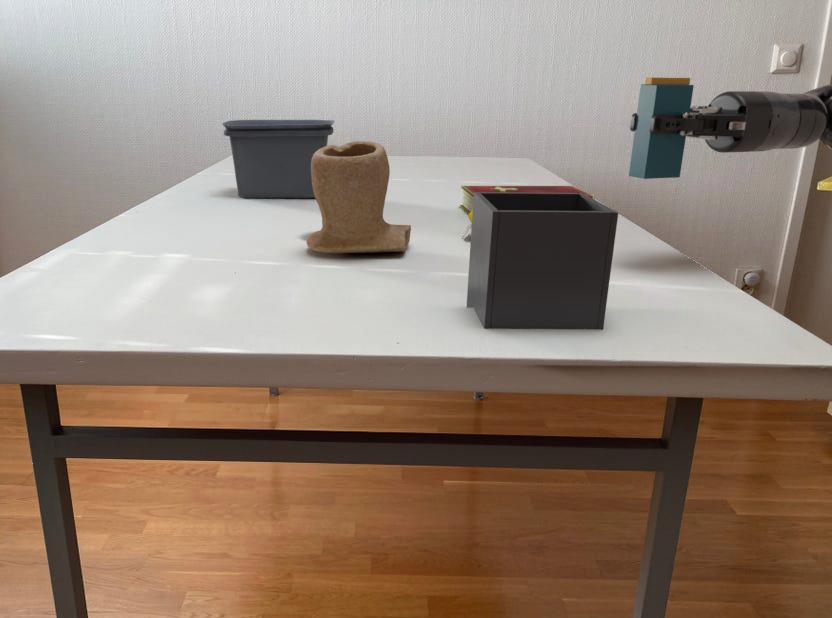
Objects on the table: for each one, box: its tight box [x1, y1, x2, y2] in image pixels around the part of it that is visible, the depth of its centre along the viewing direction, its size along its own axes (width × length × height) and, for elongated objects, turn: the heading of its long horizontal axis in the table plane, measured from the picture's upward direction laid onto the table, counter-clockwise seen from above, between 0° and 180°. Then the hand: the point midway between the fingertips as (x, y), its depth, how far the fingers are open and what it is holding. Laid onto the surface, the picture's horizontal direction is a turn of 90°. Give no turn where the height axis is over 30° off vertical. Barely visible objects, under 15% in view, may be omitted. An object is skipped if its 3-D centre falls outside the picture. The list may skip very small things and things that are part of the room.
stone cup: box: [305, 140, 412, 254], centre depth 106 cm, size 15×12×15 cm
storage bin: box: [221, 119, 335, 199], centre depth 154 cm, size 21×16×14 cm
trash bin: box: [465, 192, 619, 331], centre depth 76 cm, size 11×11×13 cm
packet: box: [628, 76, 694, 180], centre depth 96 cm, size 6×3×12 cm, turn 110°
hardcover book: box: [459, 185, 596, 216], centre depth 139 cm, size 12×21×4 cm, turn 94°
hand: (642, 123), depth 95 cm, fingers closed on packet, 3 cm apart
